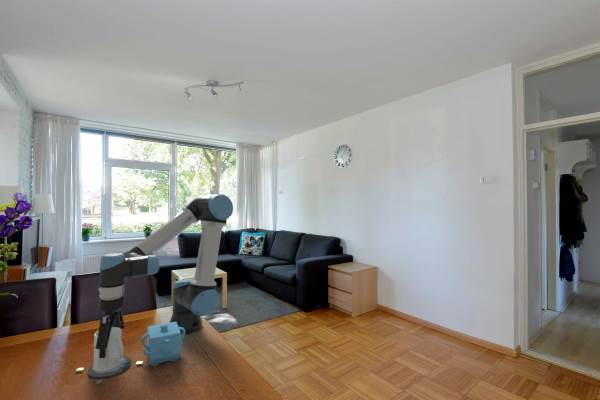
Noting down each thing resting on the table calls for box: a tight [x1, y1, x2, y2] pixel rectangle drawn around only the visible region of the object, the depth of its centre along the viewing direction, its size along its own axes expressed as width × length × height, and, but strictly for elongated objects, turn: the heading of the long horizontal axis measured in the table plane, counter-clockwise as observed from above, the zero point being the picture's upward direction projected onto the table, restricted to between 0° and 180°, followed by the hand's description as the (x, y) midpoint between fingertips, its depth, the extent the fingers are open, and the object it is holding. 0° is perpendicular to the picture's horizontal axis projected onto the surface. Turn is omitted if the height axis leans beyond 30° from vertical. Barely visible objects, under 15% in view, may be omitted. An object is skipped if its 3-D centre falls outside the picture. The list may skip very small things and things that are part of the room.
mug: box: [92, 327, 124, 372], centre depth 105 cm, size 12×8×12 cm
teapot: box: [140, 322, 186, 367], centre depth 111 cm, size 18×16×13 cm
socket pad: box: [75, 355, 144, 386], centre depth 104 cm, size 21×17×1 cm
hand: (110, 356), depth 106 cm, fingers open, 13 cm apart
